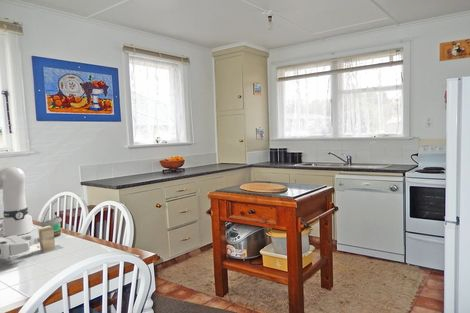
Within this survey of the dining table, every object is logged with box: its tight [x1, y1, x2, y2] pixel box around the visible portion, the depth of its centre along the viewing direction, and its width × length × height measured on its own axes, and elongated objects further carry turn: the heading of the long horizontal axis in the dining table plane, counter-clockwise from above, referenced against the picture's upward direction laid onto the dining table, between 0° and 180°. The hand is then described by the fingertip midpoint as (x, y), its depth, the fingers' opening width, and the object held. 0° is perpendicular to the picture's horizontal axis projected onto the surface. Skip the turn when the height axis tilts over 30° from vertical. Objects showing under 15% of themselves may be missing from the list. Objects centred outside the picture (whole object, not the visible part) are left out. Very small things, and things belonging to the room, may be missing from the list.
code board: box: [28, 243, 65, 256], centre depth 169 cm, size 19×12×1 cm, turn 48°
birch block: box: [37, 226, 56, 253], centre depth 165 cm, size 5×5×11 cm
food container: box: [40, 215, 63, 239], centre depth 187 cm, size 12×6×10 cm, turn 168°
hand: (34, 239), depth 160 cm, fingers open, 8 cm apart
